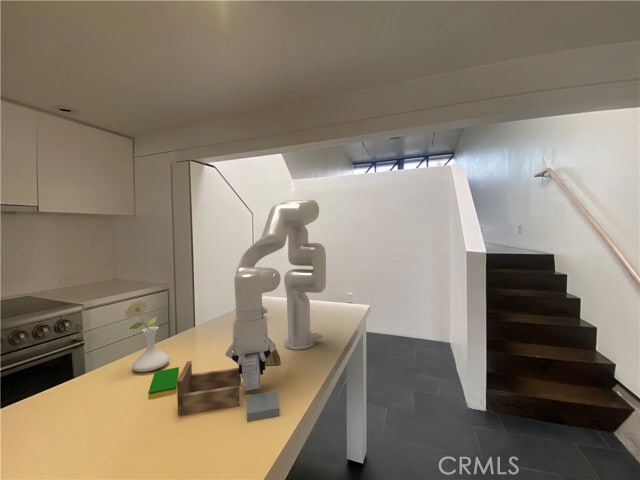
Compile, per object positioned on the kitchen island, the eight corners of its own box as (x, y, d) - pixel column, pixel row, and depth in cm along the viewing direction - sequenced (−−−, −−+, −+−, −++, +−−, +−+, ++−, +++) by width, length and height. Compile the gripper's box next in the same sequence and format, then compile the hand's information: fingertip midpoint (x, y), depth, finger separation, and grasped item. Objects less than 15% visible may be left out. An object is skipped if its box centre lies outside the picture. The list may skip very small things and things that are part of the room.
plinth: (276, 397, 78) (276, 390, 78) (279, 415, 70) (279, 407, 70) (247, 402, 76) (247, 395, 76) (247, 421, 68) (246, 413, 68)
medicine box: (259, 389, 78) (257, 359, 77) (242, 391, 77) (241, 361, 76) (261, 374, 85) (260, 347, 85) (246, 375, 85) (245, 348, 84)
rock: (288, 354, 101) (269, 344, 107) (279, 341, 96) (260, 331, 102) (269, 381, 94) (250, 369, 100) (259, 368, 90) (240, 357, 95)
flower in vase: (164, 357, 106) (162, 292, 105) (174, 366, 98) (171, 296, 97) (123, 369, 97) (120, 298, 96) (130, 381, 89) (127, 304, 88)
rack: (240, 383, 86) (240, 354, 86) (239, 405, 74) (238, 372, 74) (188, 391, 82) (187, 361, 82) (178, 416, 71) (176, 381, 70)
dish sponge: (179, 373, 94) (179, 366, 94) (176, 394, 81) (176, 386, 81) (155, 378, 91) (154, 371, 91) (148, 401, 78) (148, 392, 78)
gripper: (277, 307, 86) (279, 363, 87) (220, 313, 82) (223, 372, 83) (279, 314, 79) (282, 376, 80) (217, 321, 75) (221, 386, 76)
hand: (252, 373), depth 82 cm, fingers closed on medicine box, 4 cm apart
